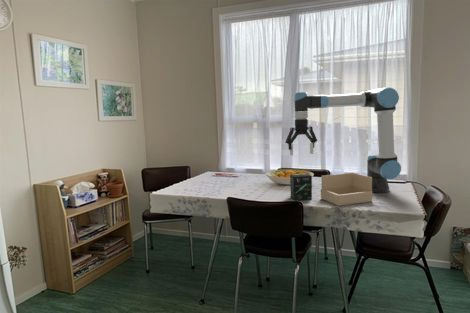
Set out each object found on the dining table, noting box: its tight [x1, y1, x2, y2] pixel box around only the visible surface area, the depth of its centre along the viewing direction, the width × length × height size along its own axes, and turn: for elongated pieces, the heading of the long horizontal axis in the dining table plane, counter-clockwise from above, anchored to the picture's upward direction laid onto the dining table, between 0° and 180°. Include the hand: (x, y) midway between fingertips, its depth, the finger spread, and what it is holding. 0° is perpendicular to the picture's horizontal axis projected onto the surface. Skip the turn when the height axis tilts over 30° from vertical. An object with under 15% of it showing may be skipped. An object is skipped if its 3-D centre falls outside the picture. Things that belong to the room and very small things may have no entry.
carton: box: [320, 172, 373, 207], centre depth 194 cm, size 22×18×14 cm
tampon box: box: [289, 172, 313, 202], centre depth 202 cm, size 11×9×15 cm
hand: (301, 154), depth 200 cm, fingers open, 13 cm apart
